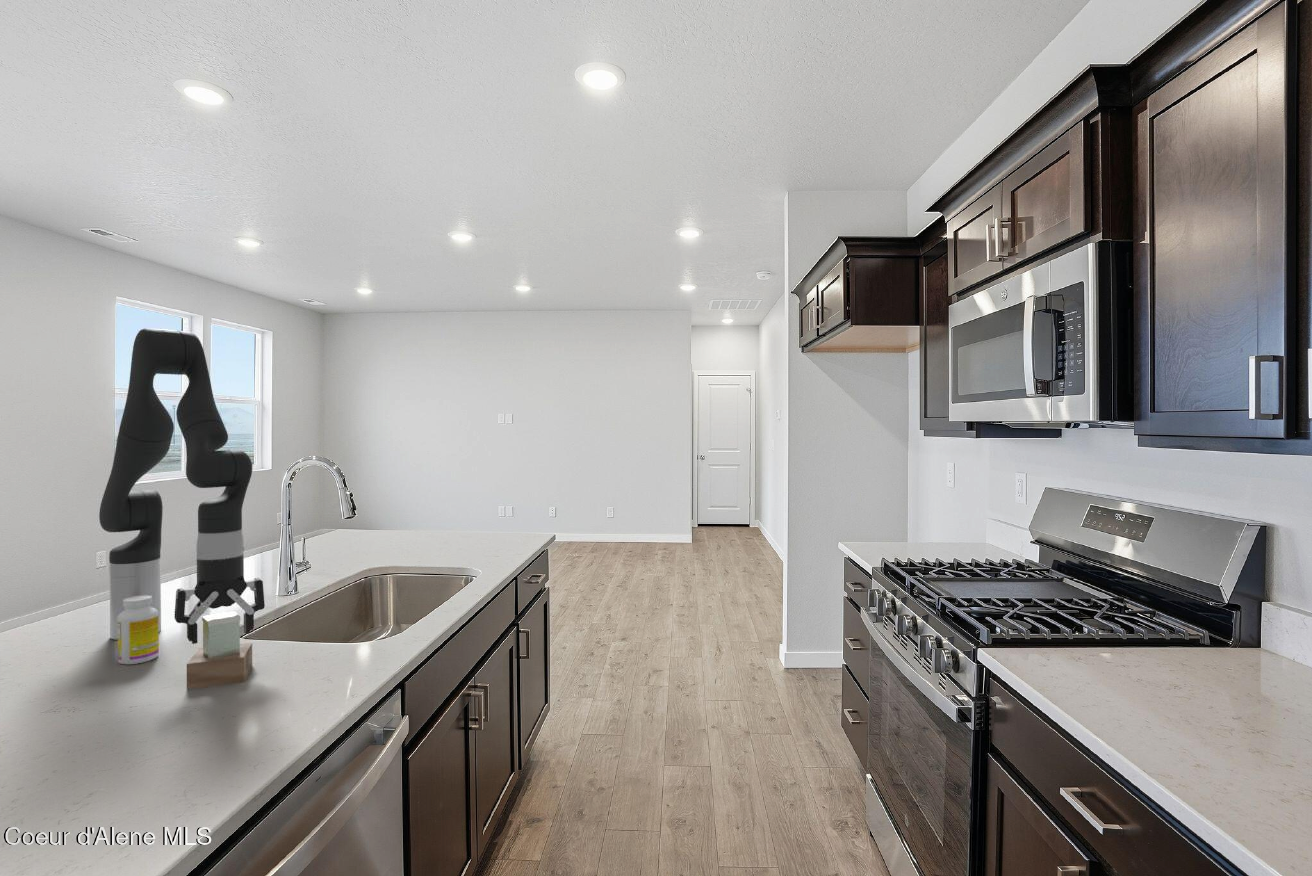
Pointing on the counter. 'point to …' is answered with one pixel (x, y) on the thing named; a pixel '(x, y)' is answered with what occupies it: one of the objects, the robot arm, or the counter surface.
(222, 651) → the tea tin
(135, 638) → the supplement bottle
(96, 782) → the counter surface
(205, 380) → the robot arm
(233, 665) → the walnut block
